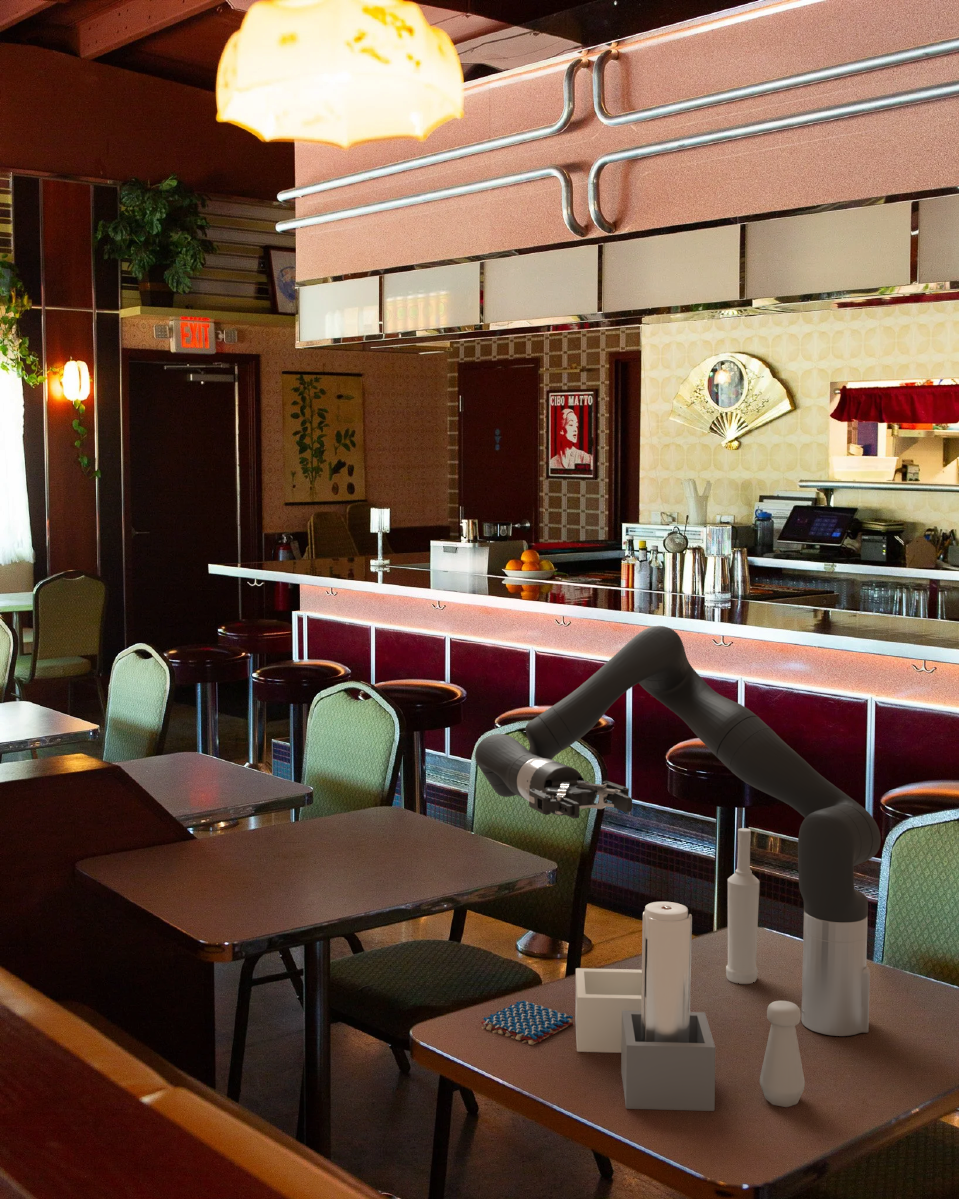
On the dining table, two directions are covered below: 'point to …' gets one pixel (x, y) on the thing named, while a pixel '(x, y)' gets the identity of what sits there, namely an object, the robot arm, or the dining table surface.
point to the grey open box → (668, 1067)
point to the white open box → (604, 1006)
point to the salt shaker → (782, 1056)
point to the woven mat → (527, 1022)
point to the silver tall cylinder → (666, 973)
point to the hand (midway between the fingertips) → (603, 808)
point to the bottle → (742, 916)
